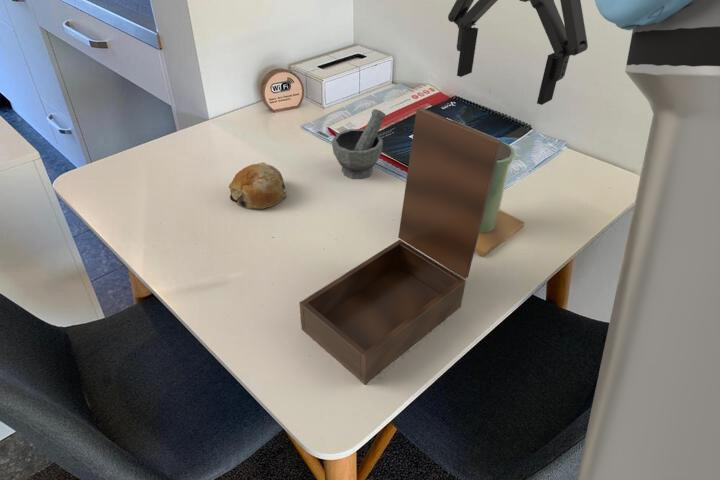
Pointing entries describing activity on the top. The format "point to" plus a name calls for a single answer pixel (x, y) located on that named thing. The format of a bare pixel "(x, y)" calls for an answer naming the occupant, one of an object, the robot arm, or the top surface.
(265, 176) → the bread roll
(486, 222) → the green pot
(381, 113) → the mortar and pestle
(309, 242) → the top surface
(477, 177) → the bin lid
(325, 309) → the bin
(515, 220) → the cork mat
